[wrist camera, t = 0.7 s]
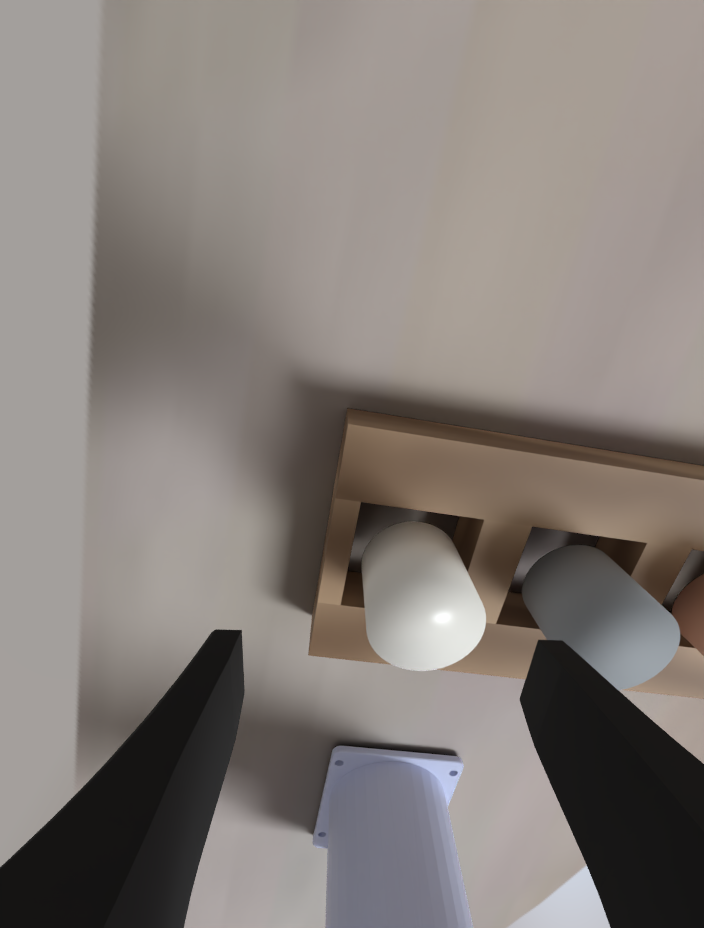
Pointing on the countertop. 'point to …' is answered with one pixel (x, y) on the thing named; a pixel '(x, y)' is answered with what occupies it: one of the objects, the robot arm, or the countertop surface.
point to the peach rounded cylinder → (691, 613)
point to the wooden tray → (507, 528)
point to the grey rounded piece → (601, 614)
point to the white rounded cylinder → (419, 598)
